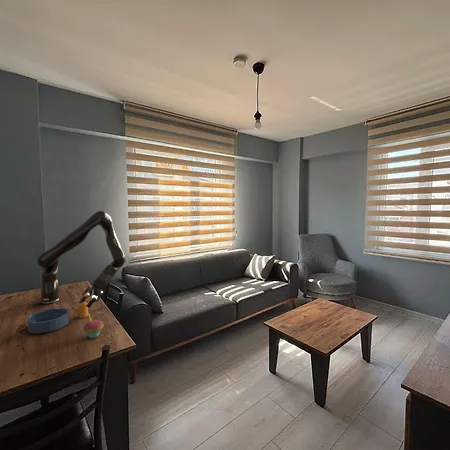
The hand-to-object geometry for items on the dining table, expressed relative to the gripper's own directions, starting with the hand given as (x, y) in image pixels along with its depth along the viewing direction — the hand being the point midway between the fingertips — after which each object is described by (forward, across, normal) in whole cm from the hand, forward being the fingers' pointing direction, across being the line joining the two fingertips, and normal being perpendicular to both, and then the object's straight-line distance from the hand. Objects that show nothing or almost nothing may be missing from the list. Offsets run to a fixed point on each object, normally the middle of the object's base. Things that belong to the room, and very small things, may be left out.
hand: (83, 305), depth 141 cm
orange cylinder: (+5, 0, -4) cm, 6 cm away
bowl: (+16, +3, +7) cm, 18 cm away
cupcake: (+10, -26, +1) cm, 28 cm away
